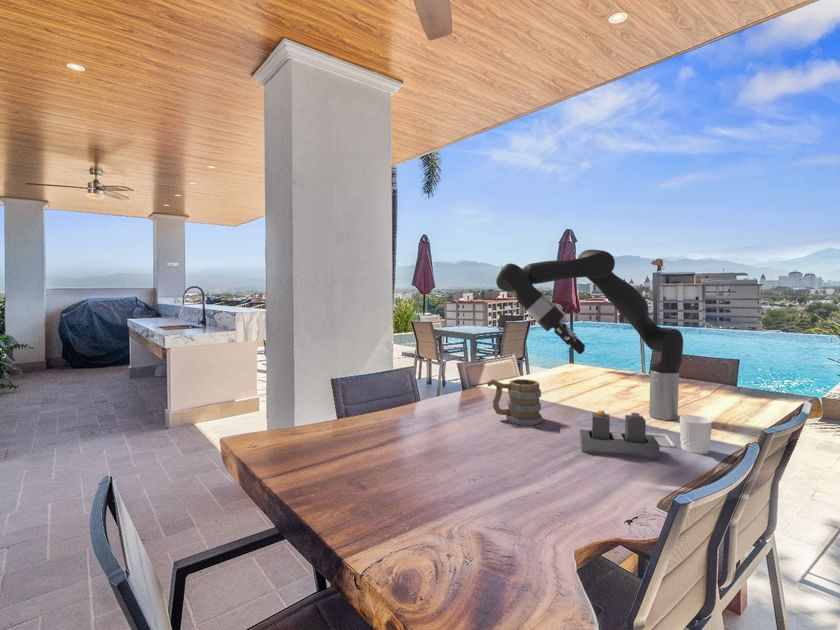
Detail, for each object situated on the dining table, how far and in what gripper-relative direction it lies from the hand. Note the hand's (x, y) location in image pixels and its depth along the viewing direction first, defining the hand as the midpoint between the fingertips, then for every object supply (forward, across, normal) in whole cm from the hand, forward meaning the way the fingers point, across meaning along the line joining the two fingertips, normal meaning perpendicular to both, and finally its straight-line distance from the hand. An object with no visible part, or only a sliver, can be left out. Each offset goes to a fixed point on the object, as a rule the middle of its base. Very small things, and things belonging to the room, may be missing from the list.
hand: (582, 350), depth 132 cm
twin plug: (+30, -8, +9) cm, 32 cm away
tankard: (+4, +14, +37) cm, 40 cm away
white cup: (+42, +1, -1) cm, 42 cm away
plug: (+23, -8, +16) cm, 29 cm away
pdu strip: (+27, -8, +13) cm, 31 cm away
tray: (+35, +5, +6) cm, 35 cm away
